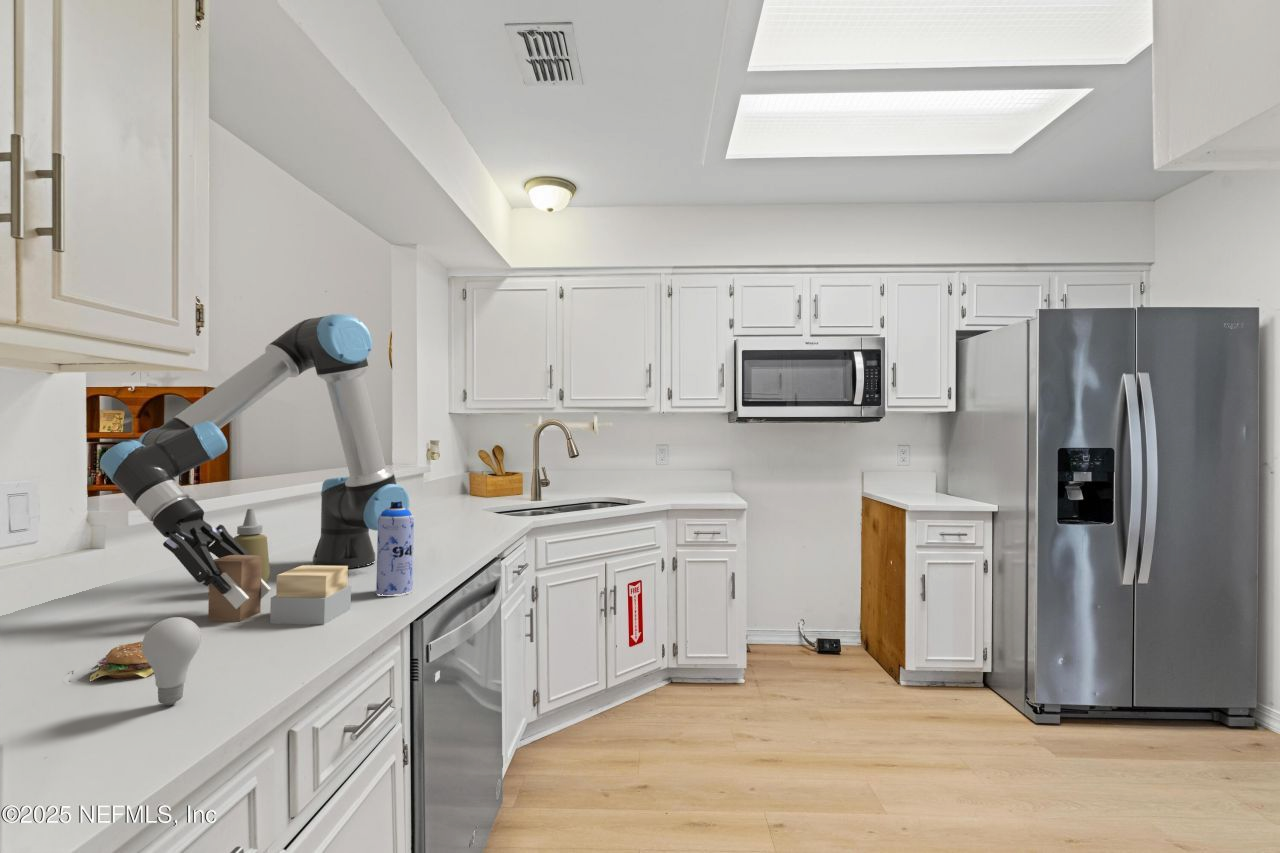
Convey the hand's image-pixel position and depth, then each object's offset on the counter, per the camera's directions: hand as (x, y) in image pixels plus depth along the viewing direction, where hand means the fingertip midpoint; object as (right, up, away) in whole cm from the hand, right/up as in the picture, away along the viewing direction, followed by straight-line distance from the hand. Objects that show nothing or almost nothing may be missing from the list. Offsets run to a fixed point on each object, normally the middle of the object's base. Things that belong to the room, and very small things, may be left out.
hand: (254, 598), depth 120 cm
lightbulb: (+13, -3, -39) cm, 41 cm away
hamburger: (-2, -4, -27) cm, 27 cm away
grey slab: (+10, -4, +1) cm, 11 cm away
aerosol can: (+19, -4, +20) cm, 28 cm away
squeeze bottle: (-12, -4, +18) cm, 22 cm away
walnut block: (-4, -3, 0) cm, 5 cm away
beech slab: (+10, +1, +1) cm, 11 cm away
